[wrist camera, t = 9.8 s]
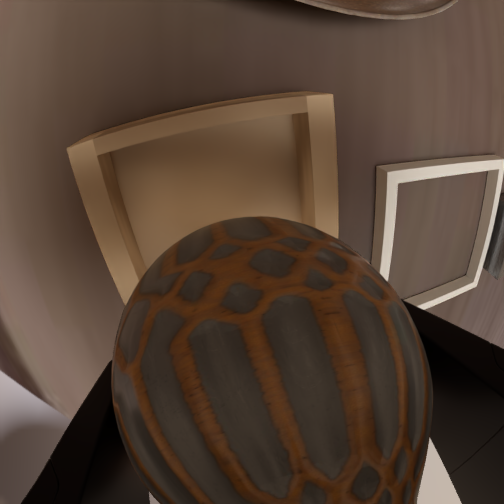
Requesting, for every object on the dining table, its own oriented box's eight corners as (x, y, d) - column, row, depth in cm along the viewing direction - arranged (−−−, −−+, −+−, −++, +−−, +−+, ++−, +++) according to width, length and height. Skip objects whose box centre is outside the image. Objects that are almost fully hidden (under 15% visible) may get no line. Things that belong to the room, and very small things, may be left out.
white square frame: (468, 279, 25) (476, 286, 24) (364, 320, 24) (371, 329, 23) (494, 154, 18) (505, 159, 17) (376, 166, 17) (387, 172, 16)
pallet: (316, 356, 25) (329, 385, 22) (186, 387, 24) (189, 420, 21) (305, 90, 14) (332, 94, 11) (88, 135, 13) (66, 148, 10)
